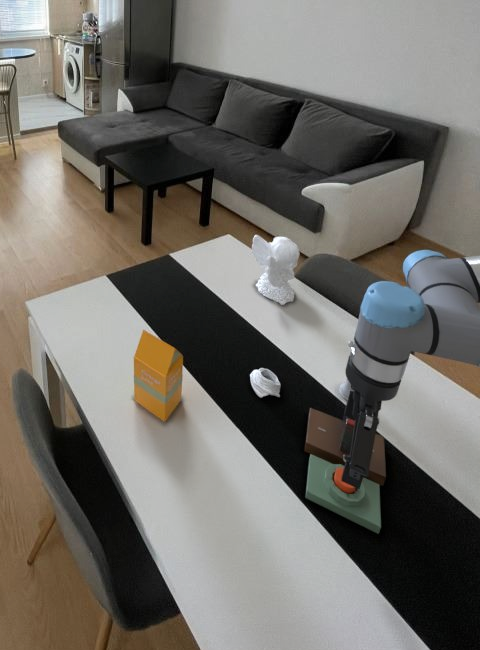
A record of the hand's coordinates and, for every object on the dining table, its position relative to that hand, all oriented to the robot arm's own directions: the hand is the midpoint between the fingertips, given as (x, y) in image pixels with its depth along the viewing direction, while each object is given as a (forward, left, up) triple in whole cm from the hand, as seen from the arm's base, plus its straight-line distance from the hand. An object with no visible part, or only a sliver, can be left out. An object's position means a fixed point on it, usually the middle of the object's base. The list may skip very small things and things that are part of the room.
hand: (351, 448), depth 80 cm
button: (0, +1, -9) cm, 9 cm away
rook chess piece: (-1, -24, -13) cm, 27 cm away
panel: (0, -9, -12) cm, 15 cm away
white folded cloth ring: (+17, -17, -13) cm, 27 cm away
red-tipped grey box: (0, -9, -9) cm, 13 cm away
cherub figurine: (+20, -53, -13) cm, 58 cm away
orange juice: (+39, -1, -13) cm, 41 cm away
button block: (0, +1, -12) cm, 12 cm away
